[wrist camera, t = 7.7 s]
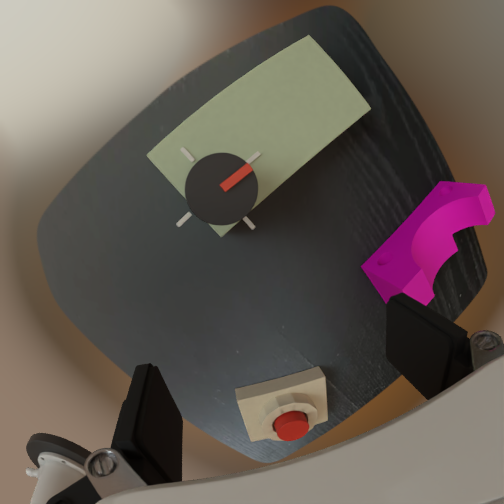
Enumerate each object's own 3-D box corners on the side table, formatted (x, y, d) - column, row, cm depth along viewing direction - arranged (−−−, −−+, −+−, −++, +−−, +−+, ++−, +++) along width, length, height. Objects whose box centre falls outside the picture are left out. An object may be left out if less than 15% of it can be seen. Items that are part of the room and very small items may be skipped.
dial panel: (213, 255, 26) (214, 264, 23) (137, 173, 24) (128, 172, 21) (363, 124, 26) (380, 118, 23) (299, 47, 23) (309, 34, 20)
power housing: (248, 430, 32) (253, 452, 28) (234, 388, 30) (238, 411, 26) (322, 409, 33) (332, 429, 29) (318, 365, 31) (331, 386, 27)
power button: (276, 434, 28) (279, 444, 27) (271, 415, 28) (275, 426, 26) (306, 425, 29) (310, 435, 27) (303, 406, 28) (308, 416, 26)
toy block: (385, 303, 31) (424, 330, 24) (360, 266, 29) (402, 290, 22) (457, 220, 30) (500, 230, 23) (439, 181, 29) (485, 184, 21)
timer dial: (214, 227, 23) (216, 241, 17) (178, 185, 22) (168, 185, 16) (257, 192, 23) (273, 194, 17) (222, 149, 21) (228, 137, 16)
